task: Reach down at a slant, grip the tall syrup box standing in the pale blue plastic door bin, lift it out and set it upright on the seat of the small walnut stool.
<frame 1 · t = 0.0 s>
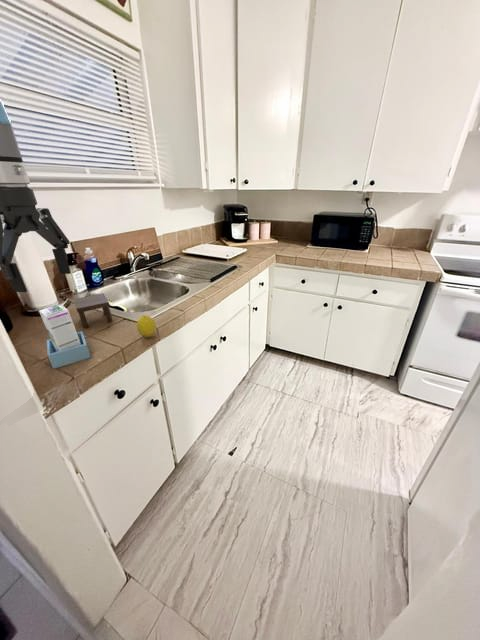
hand: (45, 281, 65), 23 cm above the table, tool pointing down, fingers open, 13 cm apart
stool: (96, 320, 96), on the table
door bin: (71, 355, 77), on the table
syrup box: (70, 354, 77), resting on door bin
lemon: (148, 337, 86), on the table
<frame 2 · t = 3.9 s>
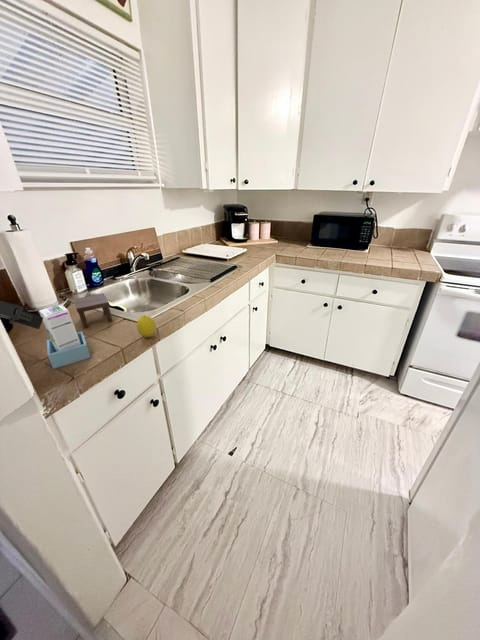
hand: (14, 320, 60), 17 cm above the table, tool tilted 45°, fingers open, 13 cm apart
nothing on the table moved.
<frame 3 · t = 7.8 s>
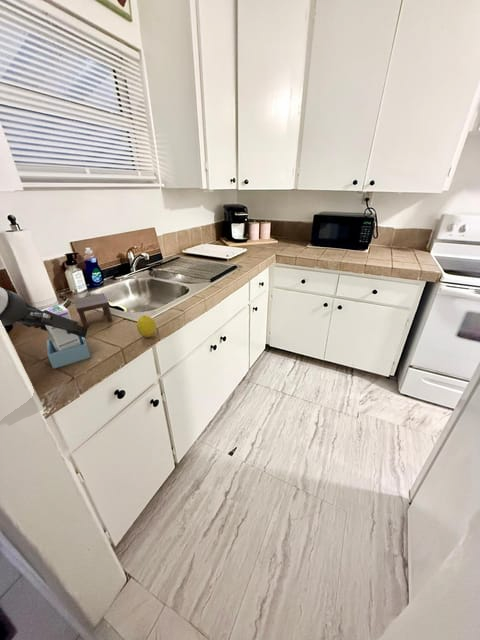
hand: (73, 331, 77), 6 cm above the table, tool tilted 45°, fingers closed on syrup box, 7 cm apart
syrup box: (70, 354, 77), resting on door bin, touching gripper
everything else where it was.
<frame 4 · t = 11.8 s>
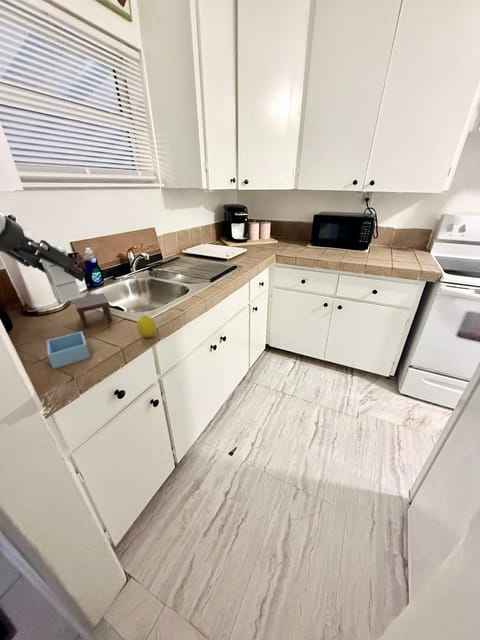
hand: (70, 276, 78), 20 cm above the table, tool tilted 45°, fingers closed on syrup box, 7 cm apart
syrup box: (68, 298, 77), point 15 cm above the table, touching gripper
everything else where it was.
when the fingers open (14 cm above the table, at t = 15.9 s): syrup box stays where it is, resting on stool.
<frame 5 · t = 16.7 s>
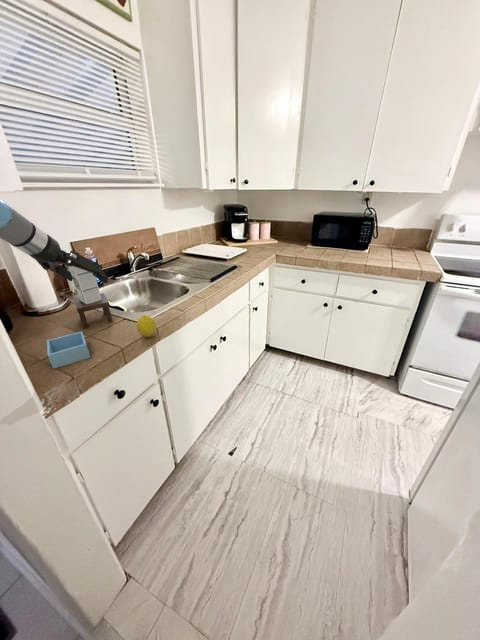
hand: (89, 278, 91), 15 cm above the table, tool tilted 45°, fingers open, 13 cm apart
syrup box: (90, 301, 93), point 8 cm above the table, touching stool
everything else where it was.
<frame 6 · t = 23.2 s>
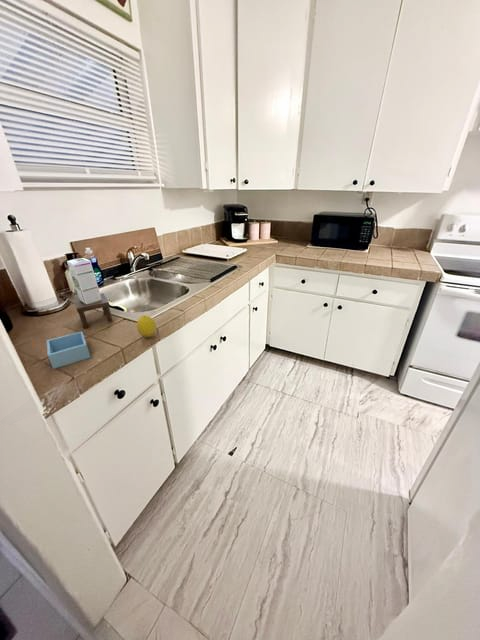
nothing on the table moved.
at the end: syrup box 0.0 cm off-centre on the stool, point 7.8 cm above the stool's base; syrup box tilted 0°; the gripper is holding nothing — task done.
